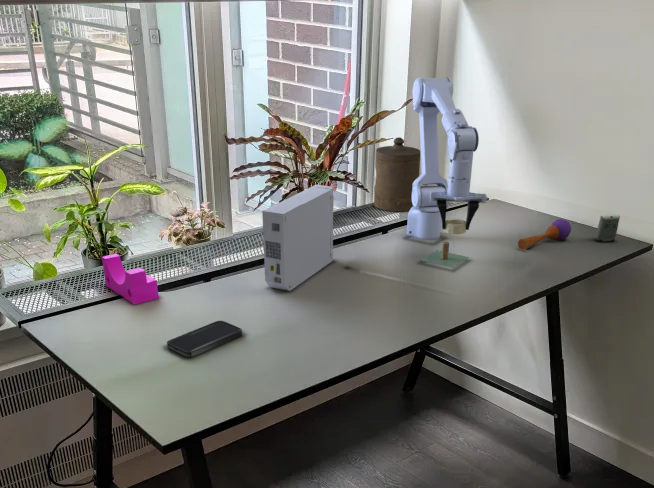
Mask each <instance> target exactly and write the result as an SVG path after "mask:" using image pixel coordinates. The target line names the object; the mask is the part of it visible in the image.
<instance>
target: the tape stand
mask: <svg viewBox="0 0 654 488" xmlns="http://www.w3.org/2000/svg"><path fill="white" fill-rule="evenodd" d="M449 251H450V242H449V241H443V242H442V246H441V250H439V249H436V250H434V251H433V252H431V253H429V254H428V255H426V256H425V257H422V258H421V259H420V261H422V262H426V263H430V264H434V265H439V266H443V267H448V268H453V269H454V268H455V267H457V266H458V265H460V264H461V263H463V262H465V261H466V260H468V259H469V258H470V257H469V256H467V255H461V254H456V253H452V252H449Z"/></svg>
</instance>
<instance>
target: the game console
mask: <svg viewBox="0 0 654 488" xmlns="http://www.w3.org/2000/svg"><path fill="white" fill-rule="evenodd" d="M261 213H262V214H261V215H262V235H263V236H262V237H263V259H264V261H263V262H264V263H263V264H264V281H265V283H266V284H267V286H268V287H269V288H273V289H276V290H277V289H278V290H282V291H288V292H291V291H292V290H293V289H295V288H296V287H297V286H299V285H300V284H302V283H304V281H306V280H308V279H309V278H310V277H312V276H313V275H315V274H316V273H318V272H319V271H320V270H322V269H323V268H325V267H326V266H328V265H329V264H330V263H332V262H333V261H334V187H333V186H329V185H323V184H314V185H312V186H310V187H309V188H307V189H304V190H302V191H300V192H298V193H295V194H294V195H292V196H290V197H288V198H286V199H284V200H282V201H280V202H277V203H276V204H274V205H272V206H270V207H268V208H265V209H262V210H261Z"/></svg>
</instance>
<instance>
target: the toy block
mask: <svg viewBox="0 0 654 488" xmlns="http://www.w3.org/2000/svg"><path fill="white" fill-rule="evenodd" d="M101 262H102V267H103V268H102V269H103V275H104V281H105V286H106V287H107V288H109V289H110V290H112V291H113V292H115V293H116V294H117V295H119V296H120V297H123V298H124V299H125V300H127V301H128V302H130V303H131V304H132V305H138V304H139V305H140V304H142V303H146V302H150V301H153V300H157V299H159V298H160V296H159V286H158V280H157V279H155V278H153V277H152V276H150V275H147V271H146V270H145V269H144V268H142V267H136V268H132V269H127V270H126V269H125V267H124V266H123V263H122V259H121V256H120V255H119V254H118V253H112V254H109V255H103V256H101Z"/></svg>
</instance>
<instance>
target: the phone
mask: <svg viewBox="0 0 654 488" xmlns="http://www.w3.org/2000/svg"><path fill="white" fill-rule="evenodd" d="M242 336H243V329H242V328H241V327H238V326H236V325H234V324H231V323H229V322H227V321H225V320H216V321H214V322H213V321H212V322H211V323H208V324H206V325H204V326H201V327H199V328H196V329H194V330H191V331H187V332H186V333H184V334H181V335H179V336H176V337H173V338H171V339H168V340H167V341H166V345H167V348H168V349H169V350H171V351H173V352H176V353H177V354H179V355H181V356H183V357H185V358H193V357H195V356H198V355H200V354H202V353H205V352H207V351H210V350H212V349H214V348H217V347H219V346H221V345H223V344H226V343H228V342H230V341H233V340H235V339H237V338H240V337H242Z"/></svg>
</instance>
